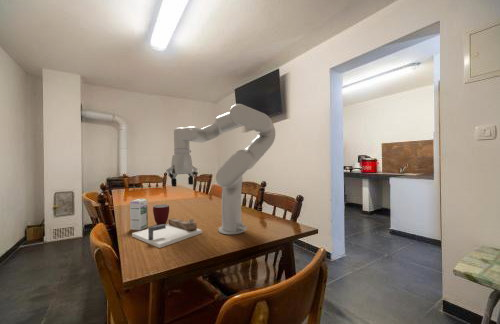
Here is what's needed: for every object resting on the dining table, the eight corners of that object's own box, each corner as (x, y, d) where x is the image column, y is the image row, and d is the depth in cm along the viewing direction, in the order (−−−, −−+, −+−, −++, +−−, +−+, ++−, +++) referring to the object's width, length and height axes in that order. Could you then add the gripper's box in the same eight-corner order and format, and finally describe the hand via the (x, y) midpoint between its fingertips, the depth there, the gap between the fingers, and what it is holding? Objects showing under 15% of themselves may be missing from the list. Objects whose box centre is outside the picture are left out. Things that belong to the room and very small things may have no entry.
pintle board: (201, 233, 105) (202, 229, 105) (159, 248, 87) (159, 244, 87) (173, 224, 118) (173, 222, 118) (131, 236, 100) (131, 233, 100)
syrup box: (140, 230, 108) (140, 201, 108) (129, 229, 110) (129, 200, 109) (147, 227, 114) (147, 199, 114) (137, 226, 115) (137, 198, 115)
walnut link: (198, 228, 105) (198, 219, 105) (190, 231, 101) (190, 221, 101) (175, 222, 116) (175, 213, 116) (167, 224, 112) (167, 215, 112)
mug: (152, 222, 123) (152, 204, 122) (168, 220, 126) (168, 203, 126) (153, 227, 113) (153, 208, 113) (169, 225, 116) (169, 206, 116)
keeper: (163, 235, 97) (163, 223, 97) (165, 236, 95) (165, 225, 95) (147, 239, 93) (147, 227, 93) (149, 240, 91) (149, 228, 91)
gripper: (191, 152, 123) (192, 183, 123) (162, 152, 109) (163, 186, 109) (200, 152, 118) (200, 184, 118) (170, 151, 104) (171, 187, 105)
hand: (182, 185), depth 114 cm, fingers open, 9 cm apart
